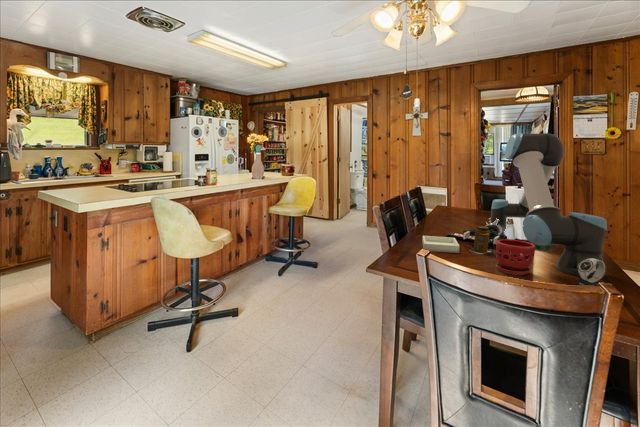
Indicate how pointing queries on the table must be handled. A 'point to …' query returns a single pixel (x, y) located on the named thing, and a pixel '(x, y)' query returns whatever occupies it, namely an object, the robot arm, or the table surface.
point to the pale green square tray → (440, 244)
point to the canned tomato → (542, 247)
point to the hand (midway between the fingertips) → (478, 238)
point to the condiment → (481, 240)
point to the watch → (590, 271)
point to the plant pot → (514, 256)
